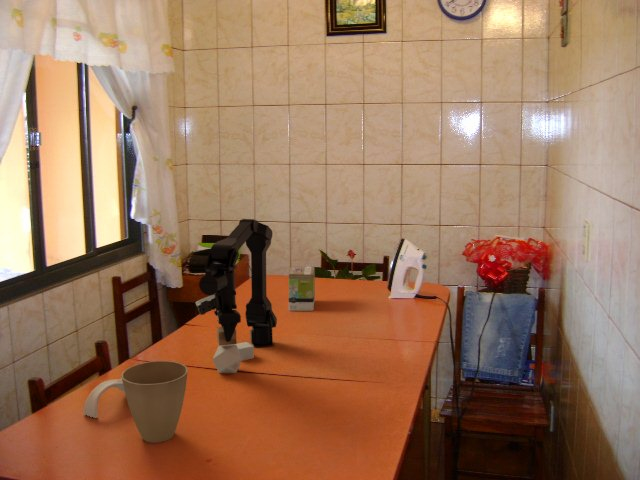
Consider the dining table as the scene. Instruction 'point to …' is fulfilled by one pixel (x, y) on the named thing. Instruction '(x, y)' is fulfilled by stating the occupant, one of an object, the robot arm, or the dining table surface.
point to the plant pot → (155, 397)
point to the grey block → (245, 350)
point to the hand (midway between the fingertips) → (226, 338)
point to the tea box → (301, 288)
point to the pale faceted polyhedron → (227, 359)
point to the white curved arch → (94, 396)
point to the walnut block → (222, 339)
